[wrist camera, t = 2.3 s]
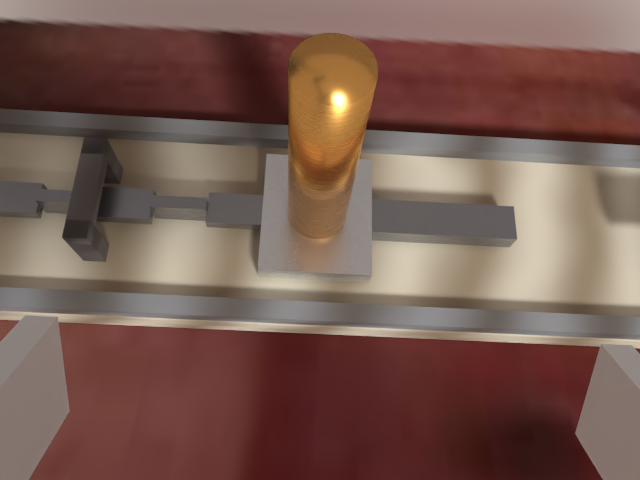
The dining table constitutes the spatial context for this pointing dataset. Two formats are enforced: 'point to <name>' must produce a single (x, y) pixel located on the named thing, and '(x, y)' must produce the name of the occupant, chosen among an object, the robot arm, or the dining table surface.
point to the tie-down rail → (319, 295)
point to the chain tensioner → (305, 184)
